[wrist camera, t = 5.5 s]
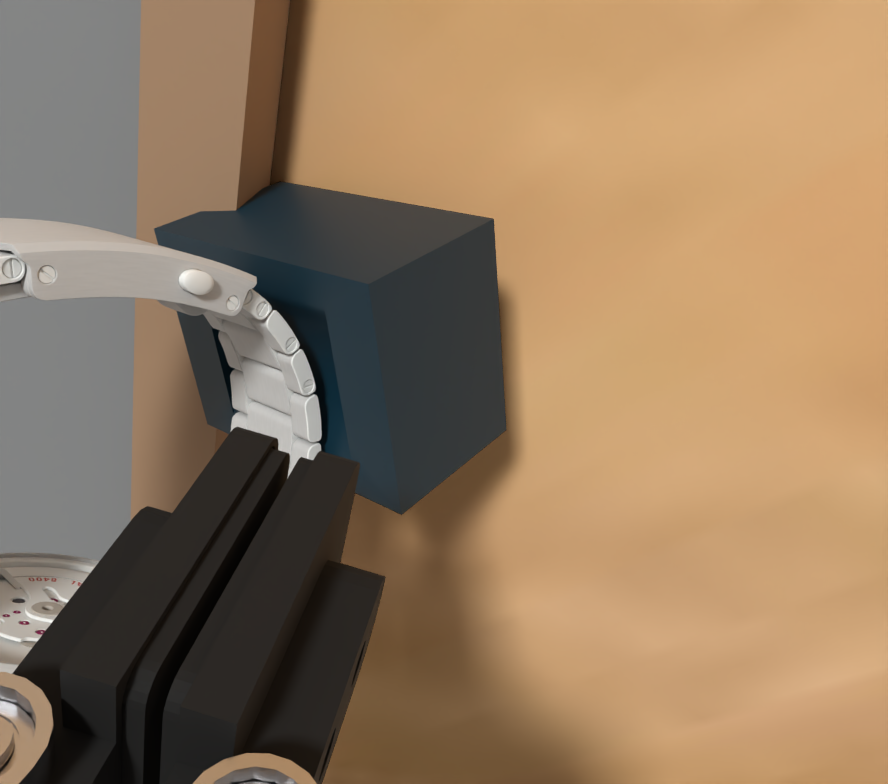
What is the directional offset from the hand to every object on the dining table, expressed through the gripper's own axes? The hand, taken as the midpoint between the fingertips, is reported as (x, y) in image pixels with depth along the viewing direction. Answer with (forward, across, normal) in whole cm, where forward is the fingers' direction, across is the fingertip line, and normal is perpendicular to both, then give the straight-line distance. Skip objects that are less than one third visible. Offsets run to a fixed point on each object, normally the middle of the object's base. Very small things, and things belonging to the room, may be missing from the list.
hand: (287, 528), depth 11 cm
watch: (+7, 0, 0) cm, 7 cm away
